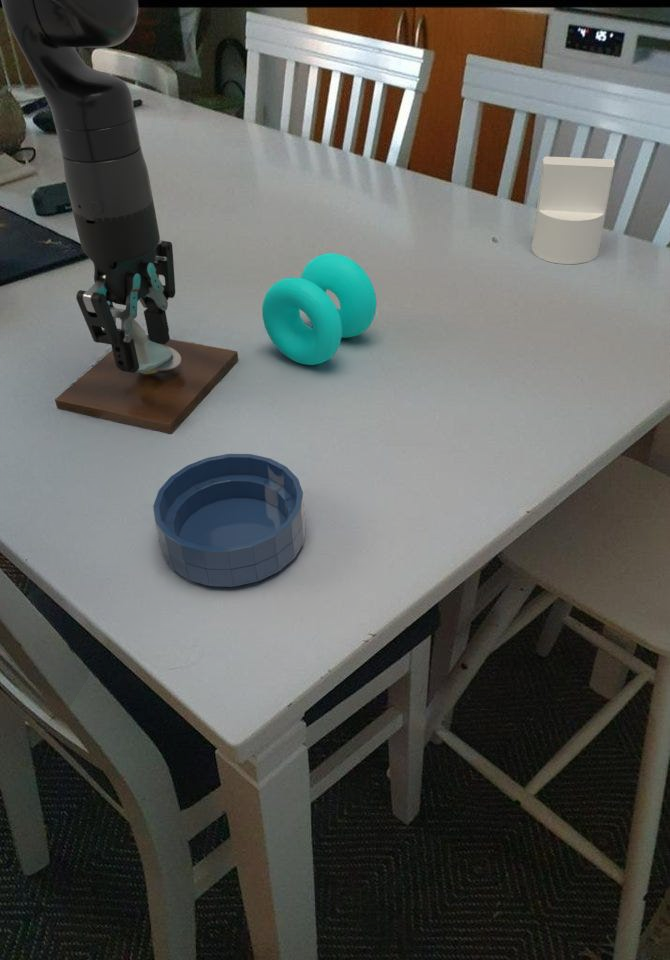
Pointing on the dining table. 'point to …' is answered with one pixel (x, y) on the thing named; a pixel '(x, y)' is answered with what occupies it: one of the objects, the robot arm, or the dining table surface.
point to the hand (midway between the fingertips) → (144, 355)
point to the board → (149, 388)
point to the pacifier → (152, 353)
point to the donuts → (319, 308)
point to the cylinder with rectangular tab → (571, 208)
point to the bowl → (230, 519)
